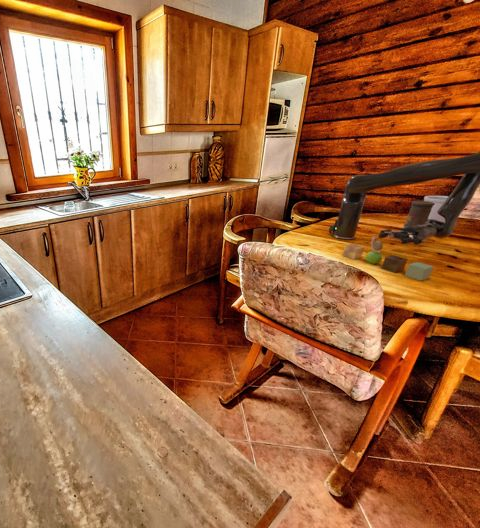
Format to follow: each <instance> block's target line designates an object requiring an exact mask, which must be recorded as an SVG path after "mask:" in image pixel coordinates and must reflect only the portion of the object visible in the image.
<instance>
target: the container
mask: <svg viewBox="0 0 480 528" xmlns="http://www.w3.org/2000/svg"><path fill="white" fill-rule="evenodd" d="M434 205H435V203H433V202H429V201H424V200H413V201H411V207H410V209H409V212H408V215H407V217H406V220H405V222H404V225H403V227H402V228H404V227H408V226H412V225H420V224H422V223H423V222H425V221H426V220H428V217H429V214H430V212H431V209H432V207H433V206H434Z"/></svg>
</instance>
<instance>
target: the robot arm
mask: <svg viewBox="0 0 480 528" xmlns="http://www.w3.org/2000/svg"><path fill="white" fill-rule="evenodd" d="M461 175H462V177H461V179H460V180H459V182H458V183H457V185H456V186H455V187H454V189H453V190H452V191H451V193H450V194H449V195H448V198H447V199H446V201H445V202H444V203H443V205H442V206H441V207H440V209H439V210H438V212H437V213H438V214H439V215H440V216H442V217H444V218H445V223H444V222H441V221H438V220H435V219H428V220H426V221H425V222H423V223H422V224H420V225H412V226H408V227H404V226H403V227H404V228H403V227H402V228H401V229H400V230H392V229H391V228H387V229H381V230H380V231H379V234H378V239H379V240H380V239H381V240H382V239H387V238H388V239H390V240H398V241H401V244H402V245H406V244H411V245H412V244H414V245H416V246H417V245H421V244H424V243H425V241H426V239H430V238H433V237H434V238H437V239H445V238H448V237H449V236H451V234H452V233H453V231H454V229H455V226H456V223H457V221H458V219H459V217H460V215H462V213H463V211H464V210H465V209H466V208H467V206H468V205H469V204H470V202H471V201H472V199H473V198H474V195H475V193H476V192H477V190H478V188H479V186H480V150H479V151H478V152H476V153H473V154H469V155H463V156H460V157H452V158H441V159H433V160H425V161H420V162H415V163H410V164H406V165H403V166H399V167H396V168H393V169H390V170H387V171H383V172H378V173H370V174H364V173H357V174H354V175H352V176H350V177H349V178H348V180H347V182H346V184H345V189H344V192H343V196H342V200H341V205H340V208H339V213H338V216H337V218H336V219H335V221H334V224H331V225H329V229H328V233H329V235H331V236H332V237H334V238H336V239H340V240H354V239H355V237H356V234H357V231H358V230H357V229H358V227H359V224H360V219H361V216H362V213H363V208H364V207H365V206H364V205H365V202H366V197H367V193H368V192H371V191H377V190H381V189H384V188H393V187H402V186H410V185H417V184H423V183H429V182H433V181H437V180H442V179H447V178H451V177H456V176H461Z"/></svg>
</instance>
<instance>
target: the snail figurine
mask: <svg viewBox="0 0 480 528" xmlns="http://www.w3.org/2000/svg"><path fill="white" fill-rule="evenodd" d="M376 235H377V234H372V237H371V243H370V247H371V248H370V249H371V250H372V251H369V252H368V253H366V255H365V260H366V262H367V263H369V264H373V265H375V264H378V263H380V262H381V261H382V260H383V255H382V253H381V250H382V249H383V248H384V247H383V246H384V244H383V242H382V241H381V240H380V239H379V240H377V238H376Z"/></svg>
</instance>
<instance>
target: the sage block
mask: <svg viewBox="0 0 480 528" xmlns="http://www.w3.org/2000/svg"><path fill="white" fill-rule="evenodd" d="M433 269H434V265H430V264H426V263H423V262H419V261H416V262H412V263H409V264H408V266H407V268H406V271H405V274H404V276H405V277H408V278H411V279H413V280H417V281H420V282H422V281H425V280H427V279H429V278H430V276H431V274H432V272H433Z"/></svg>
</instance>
